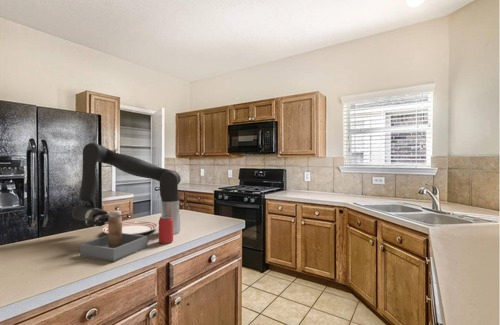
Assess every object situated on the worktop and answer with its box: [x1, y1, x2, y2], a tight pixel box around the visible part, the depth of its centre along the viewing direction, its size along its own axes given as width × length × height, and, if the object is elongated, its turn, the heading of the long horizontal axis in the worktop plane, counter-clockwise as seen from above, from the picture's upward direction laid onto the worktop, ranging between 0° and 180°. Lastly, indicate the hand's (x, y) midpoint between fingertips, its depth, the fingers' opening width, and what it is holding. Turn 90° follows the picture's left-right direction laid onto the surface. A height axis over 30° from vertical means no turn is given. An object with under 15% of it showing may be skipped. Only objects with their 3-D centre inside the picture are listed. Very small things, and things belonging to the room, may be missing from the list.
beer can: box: [158, 216, 174, 245], centre depth 124 cm, size 7×7×12 cm
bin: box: [79, 233, 149, 263], centre depth 111 cm, size 18×18×5 cm
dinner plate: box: [101, 220, 159, 236], centre depth 141 cm, size 27×27×3 cm
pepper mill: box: [107, 210, 123, 248], centre depth 111 cm, size 5×5×16 cm
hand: (111, 222), depth 113 cm, fingers open, 8 cm apart
